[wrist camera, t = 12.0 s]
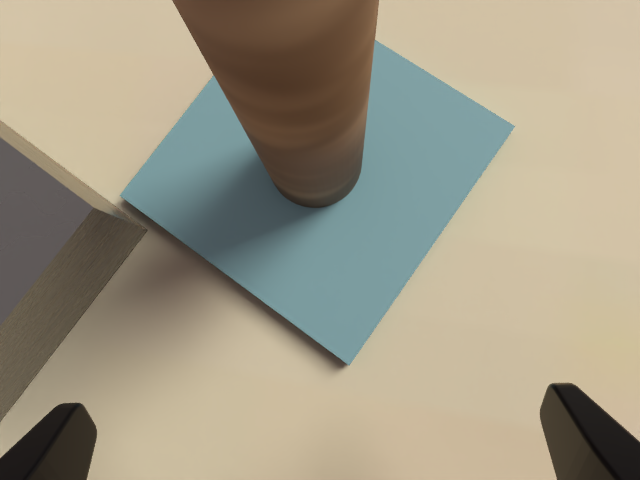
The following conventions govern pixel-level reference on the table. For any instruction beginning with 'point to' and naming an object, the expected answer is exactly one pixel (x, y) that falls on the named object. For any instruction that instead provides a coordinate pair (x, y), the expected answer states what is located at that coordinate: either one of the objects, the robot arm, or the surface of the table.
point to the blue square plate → (330, 221)
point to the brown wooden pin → (294, 84)
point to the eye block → (49, 257)
